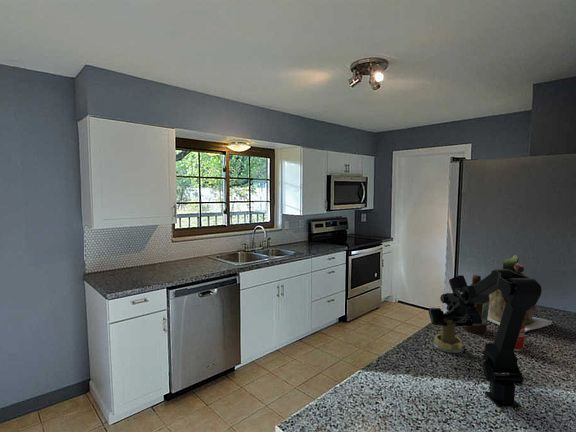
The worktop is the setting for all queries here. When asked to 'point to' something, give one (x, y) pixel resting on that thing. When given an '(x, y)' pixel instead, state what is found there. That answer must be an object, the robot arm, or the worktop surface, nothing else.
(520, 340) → the beverage can
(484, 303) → the robot arm
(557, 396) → the worktop surface
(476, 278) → the olive oil
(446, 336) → the cork
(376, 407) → the worktop surface
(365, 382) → the worktop surface
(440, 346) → the collar socket
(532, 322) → the cookie jar
